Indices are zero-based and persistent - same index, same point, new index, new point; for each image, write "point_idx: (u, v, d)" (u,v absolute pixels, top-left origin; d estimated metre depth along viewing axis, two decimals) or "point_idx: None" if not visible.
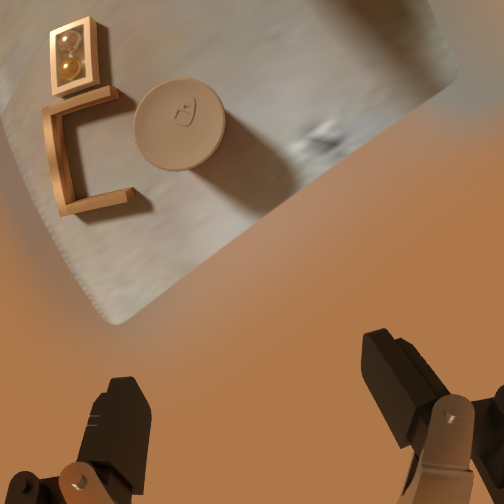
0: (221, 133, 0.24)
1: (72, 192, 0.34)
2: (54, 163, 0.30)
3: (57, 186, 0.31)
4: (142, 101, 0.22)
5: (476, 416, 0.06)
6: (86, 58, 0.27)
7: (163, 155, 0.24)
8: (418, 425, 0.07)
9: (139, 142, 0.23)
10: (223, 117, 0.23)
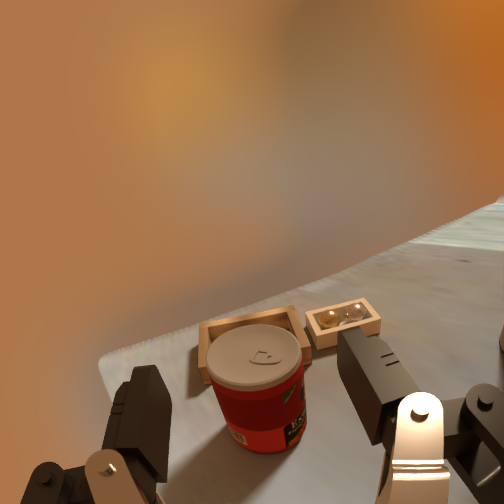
0: (238, 383, 0.22)
1: None
2: (245, 318, 0.43)
3: (224, 321, 0.43)
4: (276, 326, 0.27)
5: (446, 416, 0.06)
6: (338, 327, 0.38)
7: (223, 347, 0.26)
8: (387, 422, 0.07)
9: (237, 330, 0.28)
10: (256, 383, 0.21)
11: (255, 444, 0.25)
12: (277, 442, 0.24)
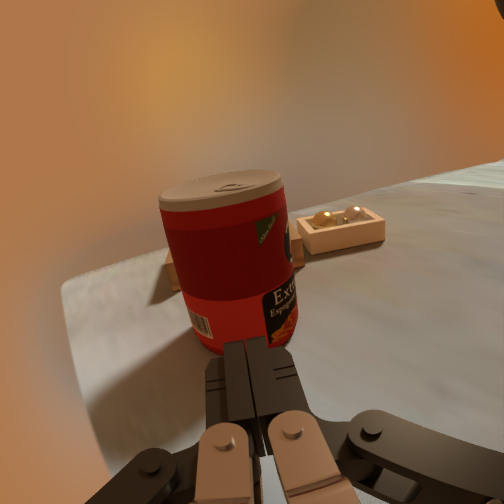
0: (193, 198, 0.16)
1: None
2: None
3: None
4: (252, 170, 0.22)
5: (329, 438, 0.07)
6: (335, 227, 0.33)
7: (184, 189, 0.21)
8: (269, 435, 0.07)
9: (205, 178, 0.22)
10: (217, 195, 0.16)
11: (223, 333, 0.19)
12: (253, 329, 0.19)
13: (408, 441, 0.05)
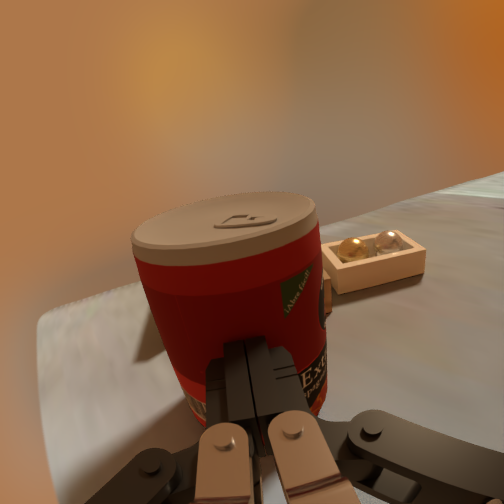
0: (178, 246, 0.10)
1: None
2: None
3: None
4: (268, 192, 0.16)
5: (329, 438, 0.07)
6: (368, 259, 0.26)
7: (171, 220, 0.15)
8: None
9: (202, 202, 0.16)
10: (218, 241, 0.10)
11: None
12: None
13: (408, 441, 0.05)
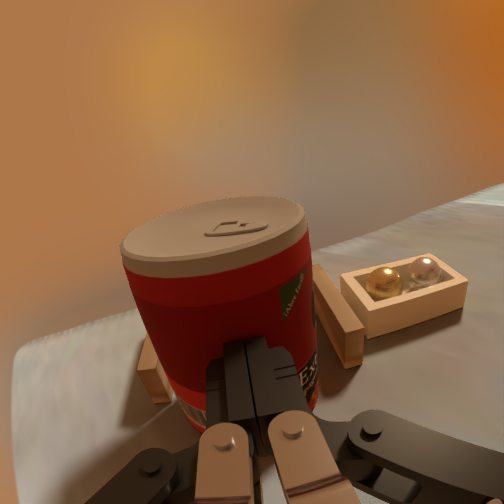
0: (178, 257, 0.10)
1: None
2: None
3: None
4: (251, 197, 0.16)
5: (329, 438, 0.07)
6: (404, 295, 0.20)
7: (157, 229, 0.14)
8: None
9: (185, 209, 0.16)
10: (219, 251, 0.10)
11: None
12: None
13: (408, 441, 0.05)
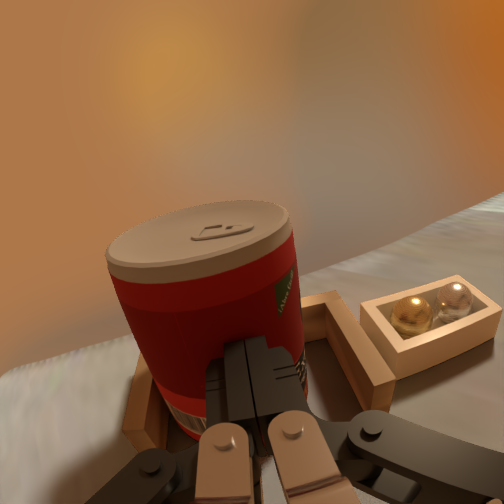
0: (176, 261, 0.10)
1: None
2: None
3: None
4: (227, 201, 0.16)
5: (329, 438, 0.07)
6: (436, 331, 0.16)
7: (138, 238, 0.14)
8: None
9: (162, 217, 0.16)
10: (218, 252, 0.10)
11: None
12: None
13: (408, 441, 0.05)
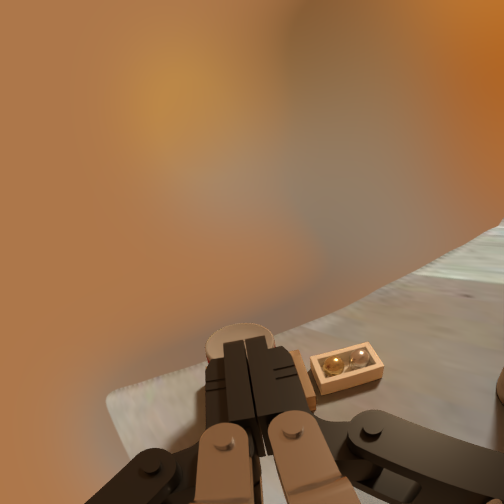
0: None
1: None
2: None
3: None
4: (249, 323, 0.38)
5: (329, 438, 0.07)
6: (342, 374, 0.38)
7: (215, 343, 0.35)
8: (269, 435, 0.07)
9: (221, 330, 0.37)
10: None
11: None
12: None
13: (408, 441, 0.05)
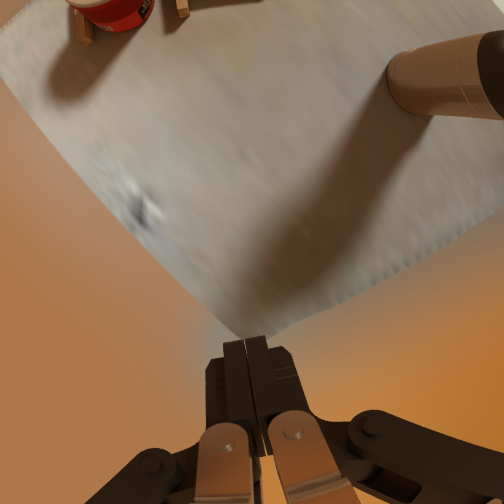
0: (95, 2, 0.18)
1: None
2: None
3: None
4: None
5: (329, 438, 0.07)
6: None
7: None
8: (269, 435, 0.07)
9: None
10: None
11: (119, 27, 0.26)
12: (135, 20, 0.26)
13: (408, 441, 0.05)
